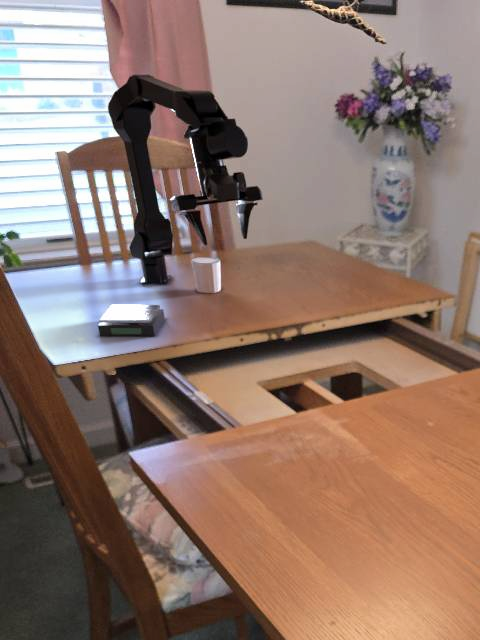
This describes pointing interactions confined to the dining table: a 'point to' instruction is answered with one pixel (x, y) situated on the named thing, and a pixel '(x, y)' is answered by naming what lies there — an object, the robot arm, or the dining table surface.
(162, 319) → the scale
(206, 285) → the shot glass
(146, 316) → the scale pan
